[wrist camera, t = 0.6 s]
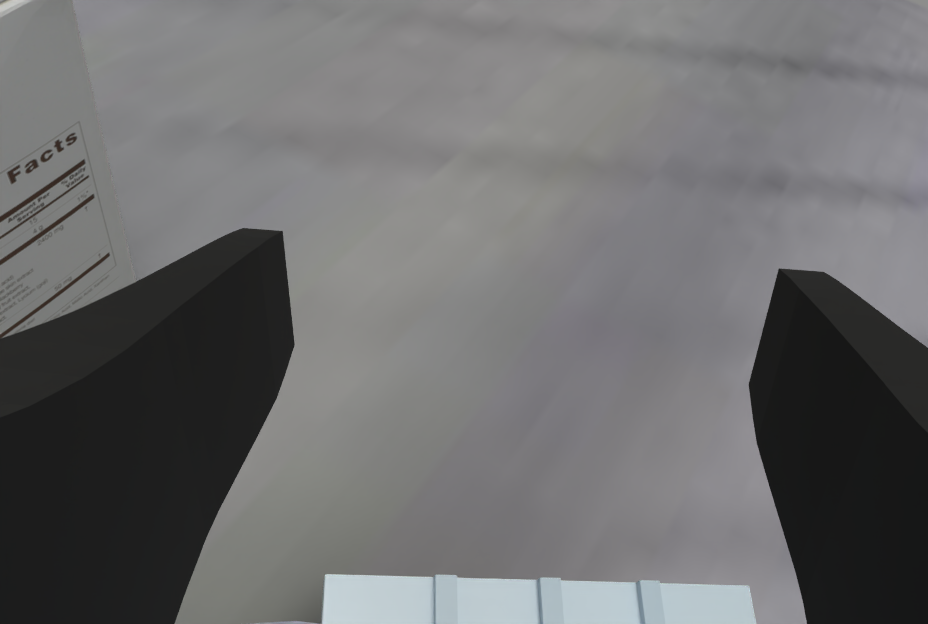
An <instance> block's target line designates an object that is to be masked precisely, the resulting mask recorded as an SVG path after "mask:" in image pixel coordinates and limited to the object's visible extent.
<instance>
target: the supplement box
mask: <svg viewBox="0 0 928 624" xmlns="http://www.w3.org/2000/svg"><path fill="white" fill-rule="evenodd" d="M135 282H136V278H135V274H134V270H133V266H132V261H131V257H130V252H129V248H128V243H127V239H126V235H125V230H124V226H123V222H122V217H121V213H120V209H119V204H118V200H117V195H116V191H115V187H114V182H113V178H112V174H111V169H110V165H109V160H108V156H107V152H106V147H105V143H104V139H103V134H102V130H101V125H100V121H99V117H98V112H97V108H96V103H95V99H94V94H93V90H92V85H91V81H90V76H89V72H88V68H87V63H86V59H85V54H84V50H83V45H82V41H81V36H80V32H79V28H78V23H77V19H76V14H75V10H74V6H73V1H72V0H0V338H4V337H7V336H10V335H12V334H15V333H18V332H21V331H24V330H26V329H29V328H32V327H34V326H37V325H40V324H42V323H45V322H48V321H50V320H53V319H56V318H58V317H60V316H63V315H65V314H68V313H70V312H73V311H75V310H77V309H80V308H82V307H84V306H86V305H89V304H91V303H93V302H95V301H97V300H99V299H101V298H103V297H105V296H107V295H109V294H112V293H114V292H116V291H118V290H120V289H122V288H124V287H126V286H128V285H130V284H133V283H135Z"/></svg>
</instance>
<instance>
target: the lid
mask: <svg viewBox="0 0 928 624" xmlns="http://www.w3.org/2000/svg"><path fill="white" fill-rule="evenodd" d="M321 624H756V620H755V615H754V609H753V604H752V599H751V594H750V588H749V586H741V585H704V584H667V583H660V581H649V580H640V581H638V582H636V583H630V582H593V581H561V578H539V579H538V580H519V579H482V578H457V575H435V576H434V577H408V576H371V575H334V574H325V577H324V581H323V597H322V613H321Z"/></svg>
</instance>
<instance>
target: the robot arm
mask: <svg viewBox="0 0 928 624" xmlns="http://www.w3.org/2000/svg"><path fill="white" fill-rule="evenodd" d="M293 348H294V335H293V326H292V317H291V307H290V298H289V288H288V279H287V269H286V260H285V250H284V241H283V231H274V230H261V229H248V228H242V229H239V230H237V231H234V232H232V233H229V234H227V235H225V236H223V237H221V238H219V239H217V240H215V241H213V242H211V243H209V244H207V245H205V246H203V247H201V248H200V249H198V250H196V251H194V252H192V253H190V254H188V255H186V256H185V257H183V258H181V259H179V260H177V261H175V262H173V263H171V264H169V265H168V266H166V267H164V268H162V269H160V270H158V271H156V272H154V273H152V274H151V275H149V276H147V277H145V278H143V279H141V280H139V281H137V282H135V283H133V284H130V285H128V286H126V287H124V288H122V289H120V290H118V291H116V292H114V293H112V294H109V295H107V296H105V297H103V298H101V299H99V300H97V301H95V302H93V303H91V304H89V305H86V306H84V307H82V308H80V309H77V310H75V311H73V312H70V313H68V314H65V315H63V316H60V317H58V318H56V319H53V320H50V321H48V322H45V323H42V324H40V325H37V326H34V327H32V328H29V329H26V330H24V331H21V332H18V333H15V334H12V335H10V336H7V337H4V338H0V624H174V623H175V620H176V617H177V615H178V612H179V609H180V606H181V603H182V600H183V597H184V595H185V592H186V589H187V587H188V584H189V582H190V579H191V576H192V574H193V571H194V568H195V566H196V563H197V561H198V558H199V555H200V553H201V550H202V547H203V545H204V542H205V540H206V537H207V535H208V533H209V530H210V528H211V526H212V524H213V522H214V520H215V517H216V515H217V513H218V511H219V509H220V507H221V505H222V503H223V501H224V499H225V498H226V496H227V494H228V492H229V490H230V488H231V486H232V484H233V482H234V480H235V478H236V476H237V474H238V473H239V471H240V469H241V467H242V465H243V463H244V461H245V459H246V457H247V455H248V453H249V451H250V450H251V448H252V446H253V444H254V442H255V440H256V438H257V436H258V434H259V432H260V430H261V428H262V426H263V424H264V422H265V420H266V418H267V416H268V414H269V412H270V410H271V408H272V406H273V404H274V402H275V400H276V398H277V396H278V393H279V390H280V387H281V384H282V381H283V379H284V376H285V373H286V370H287V367H288V363H289V360H290V357H291V354H292V351H293ZM749 390H750V398H751V406H752V414H753V421H754V427H755V434H756V440H757V445H758V448H759V452H760V455H761V459H762V462H763V466H764V469H765V473H766V476H767V479H768V483H769V486H770V489H771V493H772V496H773V499H774V503H775V506H776V509H777V512H778V516H779V519H780V522H781V526H782V529H783V532H784V535H785V539H786V542H787V545H788V549H789V552H790V555H791V558H792V562H793V565H794V568H795V572H796V575H797V579H798V583H799V587H800V591H801V595H802V599H803V604H804V609H805V615H806V620H807V624H928V348H927V347H926V346H924V345H923V344H922V343H920V342H919V341H918V340H916V339H915V338H913V337H912V336H911V335H909V334H908V333H907V332H905V331H904V330H903V329H901V328H900V327H899V326H897V325H896V324H895V323H893V322H892V321H891V320H890V319H888V318H887V317H886V316H884V315H883V314H882V313H880V312H879V311H878V310H876V309H875V308H874V307H872V306H871V305H870V304H869V303H867V302H866V301H865V300H863V299H862V298H861V297H859V296H858V295H857V294H855V293H854V292H853V291H851V290H850V289H849V288H847V287H846V286H844V285H843V284H842V283H840V282H839V281H837V280H836V279H834V278H833V277H831V276H830V275H828V274H826V273H824V272H817V271H804V270H790V269H779V270H778V274H777V278H776V282H775V286H774V290H773V293H772V297H771V301H770V305H769V309H768V313H767V316H766V320H765V324H764V328H763V332H762V336H761V340H760V343H759V347H758V351H757V355H756V359H755V363H754V366H753V370H752V374H751V378H750V382H749ZM252 624H318V623H309V622H301V621H285V622H268V623H252Z"/></svg>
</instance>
